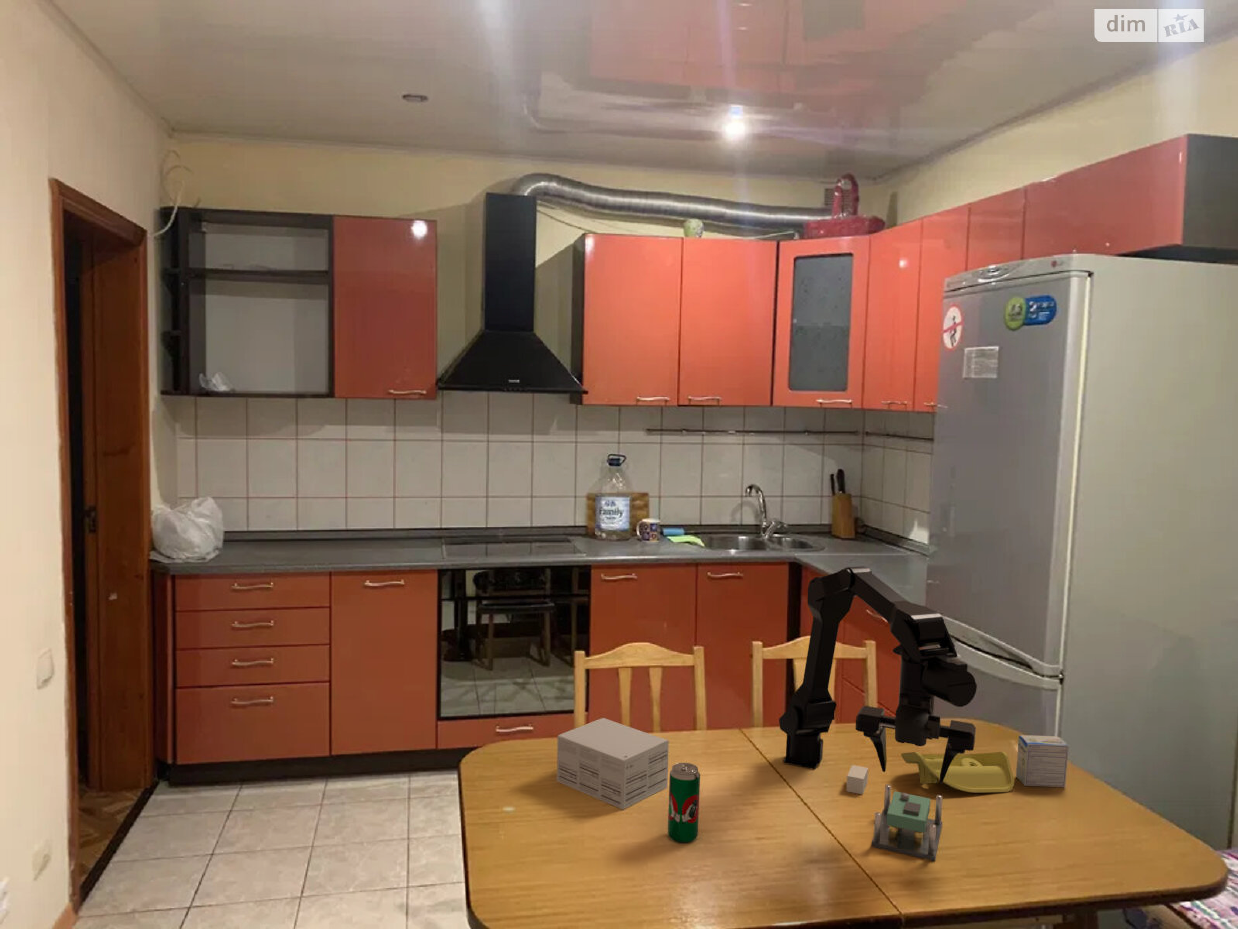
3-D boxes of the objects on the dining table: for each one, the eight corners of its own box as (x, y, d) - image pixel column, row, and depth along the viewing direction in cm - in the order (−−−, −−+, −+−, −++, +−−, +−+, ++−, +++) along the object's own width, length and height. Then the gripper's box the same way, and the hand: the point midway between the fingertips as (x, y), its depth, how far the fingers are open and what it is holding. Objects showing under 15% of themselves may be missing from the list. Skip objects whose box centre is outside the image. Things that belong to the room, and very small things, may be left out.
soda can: (701, 833, 153) (703, 764, 152) (693, 847, 148) (696, 776, 147) (672, 827, 155) (674, 759, 153) (663, 841, 150) (666, 771, 149)
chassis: (871, 846, 150) (873, 814, 149) (882, 813, 162) (884, 783, 161) (935, 861, 146) (937, 828, 145) (942, 825, 158) (944, 795, 157)
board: (886, 824, 151) (887, 808, 150) (893, 802, 159) (894, 787, 159) (924, 833, 148) (925, 816, 148) (929, 809, 156) (930, 794, 156)
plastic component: (978, 754, 184) (1010, 751, 175) (984, 792, 181) (1017, 792, 172) (891, 754, 179) (920, 751, 170) (896, 794, 176) (925, 793, 167)
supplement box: (669, 788, 170) (670, 739, 169) (623, 811, 160) (624, 760, 159) (602, 761, 181) (603, 715, 180) (555, 782, 171) (556, 734, 170)
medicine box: (1055, 778, 178) (1058, 735, 178) (1066, 788, 174) (1069, 745, 173) (1015, 776, 179) (1018, 734, 178) (1024, 787, 174) (1027, 743, 173)
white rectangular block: (846, 791, 170) (847, 775, 170) (851, 780, 175) (852, 765, 175) (862, 794, 169) (863, 779, 169) (867, 783, 174) (868, 768, 174)
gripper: (852, 691, 148) (847, 784, 149) (974, 711, 140) (968, 808, 142) (863, 672, 158) (858, 759, 159) (978, 690, 150) (972, 780, 152)
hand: (912, 776), depth 153 cm, fingers open, 9 cm apart
